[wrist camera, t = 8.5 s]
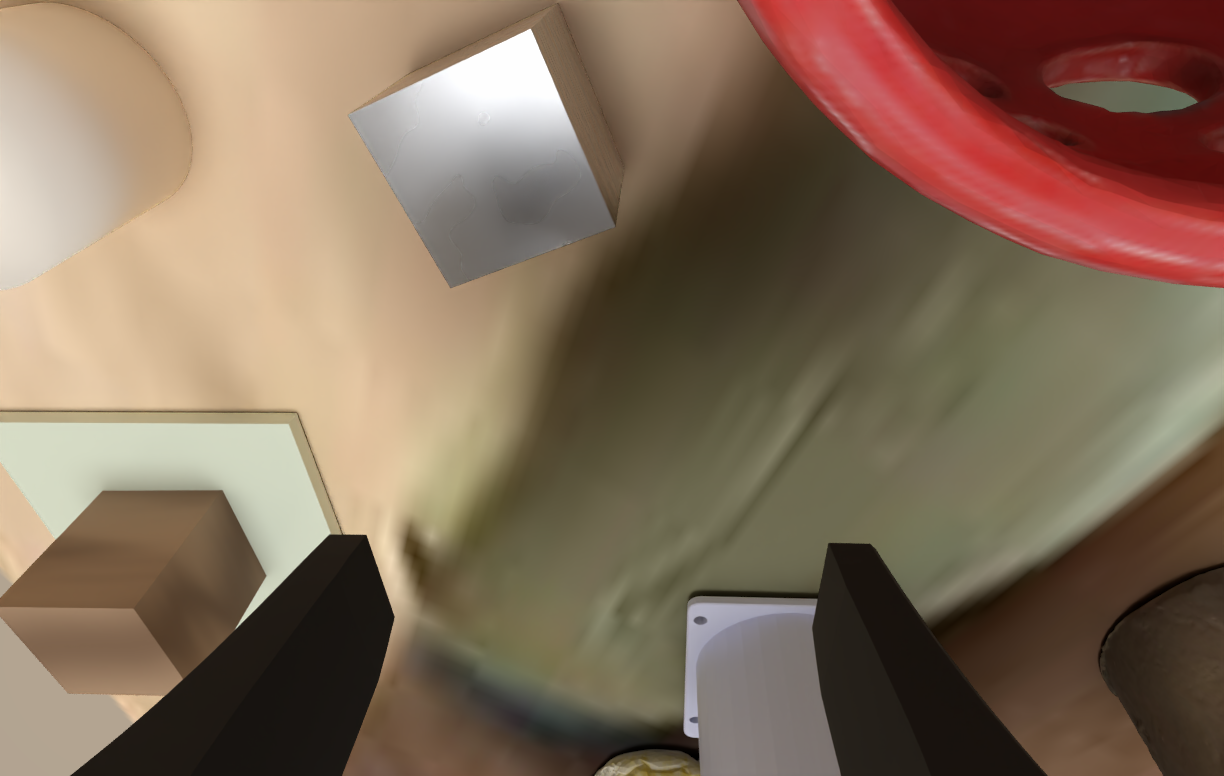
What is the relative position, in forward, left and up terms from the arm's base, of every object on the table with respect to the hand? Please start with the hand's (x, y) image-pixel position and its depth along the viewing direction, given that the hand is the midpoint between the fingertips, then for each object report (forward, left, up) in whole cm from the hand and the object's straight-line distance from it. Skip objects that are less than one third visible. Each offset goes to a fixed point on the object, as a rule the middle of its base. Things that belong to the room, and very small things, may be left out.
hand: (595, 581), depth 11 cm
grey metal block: (+4, +3, -10) cm, 12 cm away
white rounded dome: (+5, +14, -10) cm, 18 cm away
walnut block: (-10, +17, -10) cm, 22 cm away
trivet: (-10, +17, -10) cm, 22 cm away
